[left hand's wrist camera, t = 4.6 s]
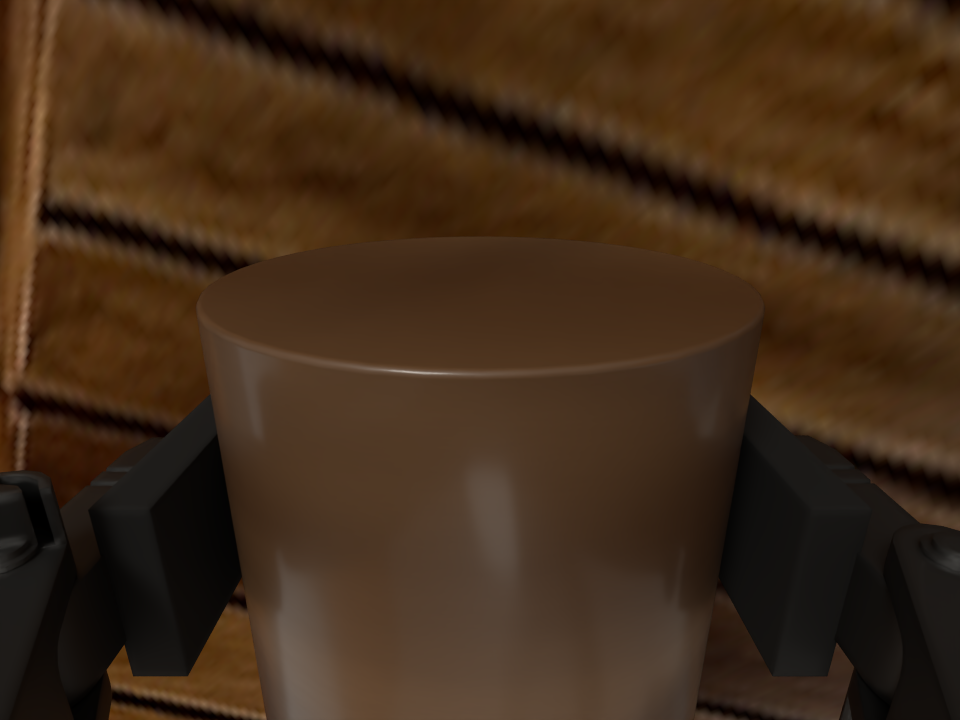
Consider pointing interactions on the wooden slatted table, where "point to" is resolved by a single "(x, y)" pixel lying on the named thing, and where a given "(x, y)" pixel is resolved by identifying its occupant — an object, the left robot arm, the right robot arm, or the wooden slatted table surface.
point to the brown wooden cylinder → (480, 473)
